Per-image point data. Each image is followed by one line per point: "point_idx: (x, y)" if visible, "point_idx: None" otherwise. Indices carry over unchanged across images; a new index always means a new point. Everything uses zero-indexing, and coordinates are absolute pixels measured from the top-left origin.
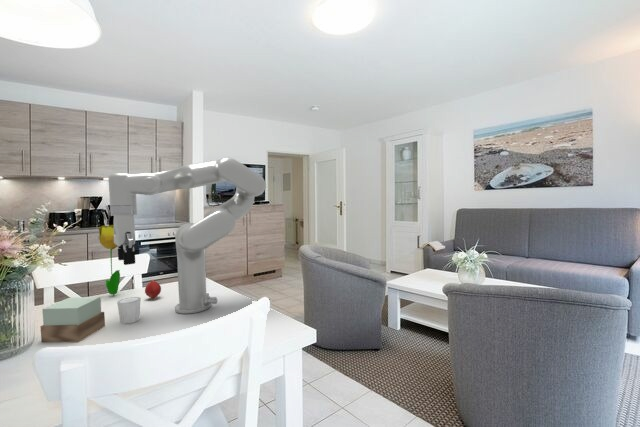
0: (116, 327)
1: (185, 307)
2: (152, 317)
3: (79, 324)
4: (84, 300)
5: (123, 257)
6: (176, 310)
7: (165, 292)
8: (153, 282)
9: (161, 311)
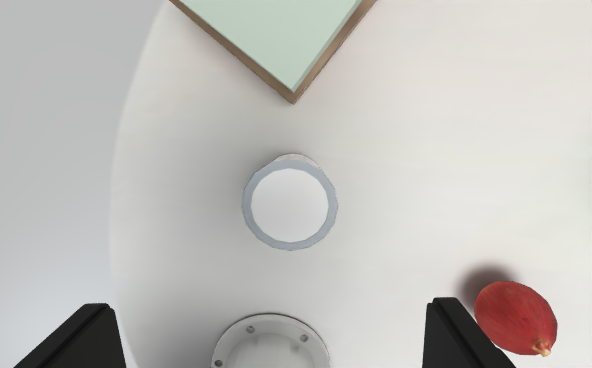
0: (249, 135)
1: (239, 346)
2: None
3: (181, 3)
4: (276, 7)
5: (25, 365)
6: (259, 318)
7: None
8: (527, 343)
9: (310, 280)
